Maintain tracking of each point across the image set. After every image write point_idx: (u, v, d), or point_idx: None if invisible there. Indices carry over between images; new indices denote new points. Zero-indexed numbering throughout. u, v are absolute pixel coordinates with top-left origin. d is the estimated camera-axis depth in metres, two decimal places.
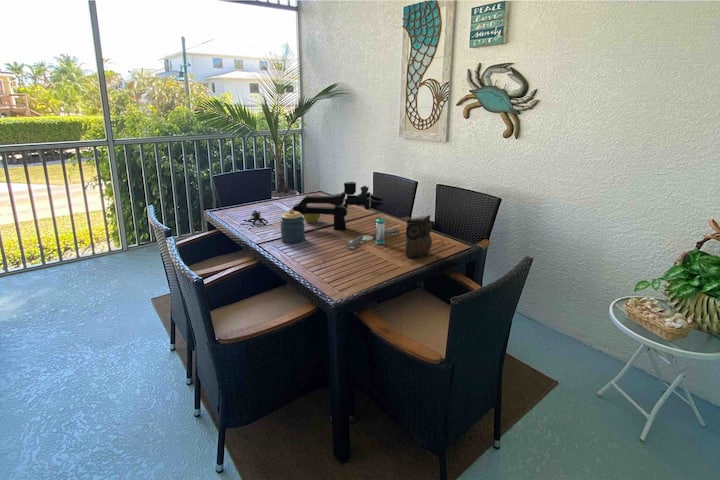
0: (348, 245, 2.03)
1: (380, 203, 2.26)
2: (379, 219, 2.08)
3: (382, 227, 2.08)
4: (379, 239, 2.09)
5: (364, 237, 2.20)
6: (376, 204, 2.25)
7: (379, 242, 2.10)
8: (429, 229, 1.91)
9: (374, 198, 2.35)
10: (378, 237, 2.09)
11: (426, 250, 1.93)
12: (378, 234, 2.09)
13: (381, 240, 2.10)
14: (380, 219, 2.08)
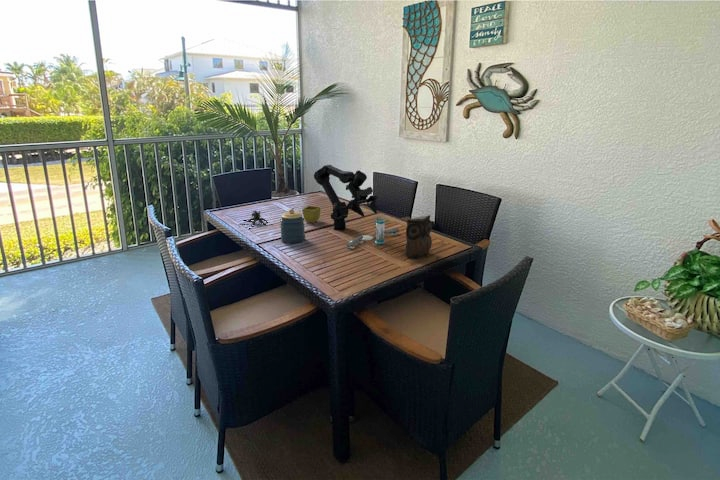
0: (348, 245, 2.03)
1: (361, 214, 2.11)
2: (379, 219, 2.08)
3: (382, 227, 2.08)
4: (379, 239, 2.09)
5: (364, 237, 2.20)
6: (358, 212, 2.11)
7: (379, 242, 2.10)
8: (429, 229, 1.91)
9: (372, 205, 2.18)
10: (378, 237, 2.09)
11: (426, 250, 1.93)
12: (378, 234, 2.09)
13: (381, 240, 2.10)
14: (380, 219, 2.08)
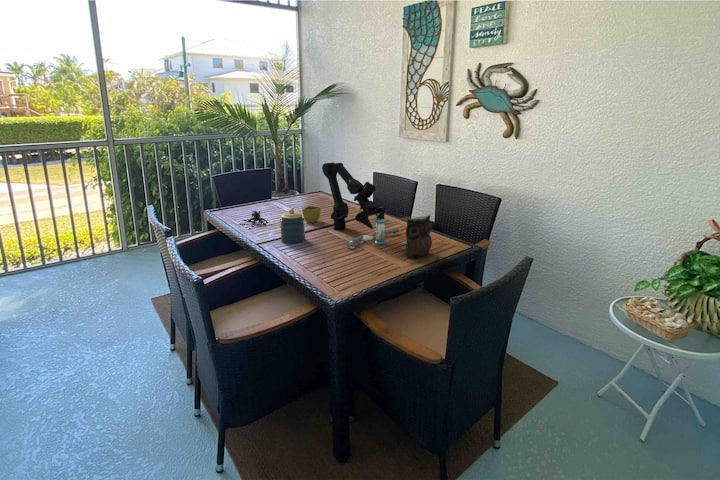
0: (348, 245, 2.03)
1: (370, 226, 2.07)
2: (379, 219, 2.08)
3: (382, 227, 2.08)
4: (379, 239, 2.09)
5: (364, 237, 2.20)
6: (366, 224, 2.08)
7: (379, 242, 2.10)
8: (429, 229, 1.91)
9: (381, 217, 2.14)
10: (378, 237, 2.09)
11: (426, 250, 1.93)
12: (378, 234, 2.09)
13: (381, 240, 2.10)
14: (380, 219, 2.08)
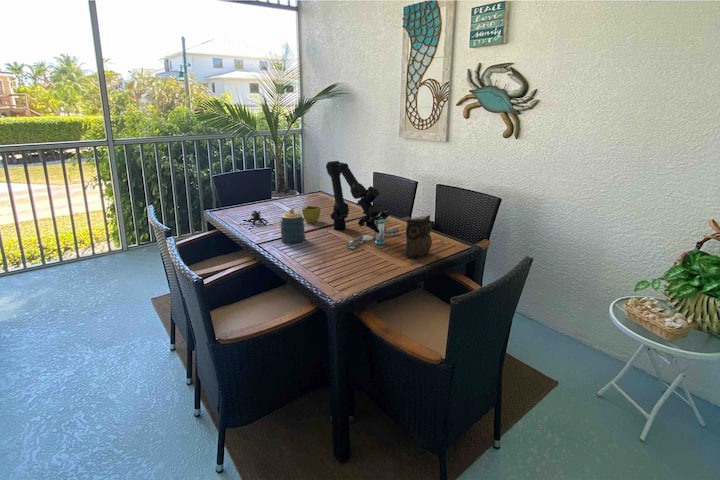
0: (348, 245, 2.03)
1: (376, 231, 2.08)
2: (379, 219, 2.08)
3: (382, 227, 2.08)
4: (379, 239, 2.09)
5: (364, 237, 2.20)
6: (373, 228, 2.08)
7: (379, 242, 2.10)
8: (429, 229, 1.91)
9: None
10: (378, 237, 2.09)
11: (426, 250, 1.93)
12: (378, 234, 2.09)
13: (381, 240, 2.10)
14: (380, 219, 2.08)
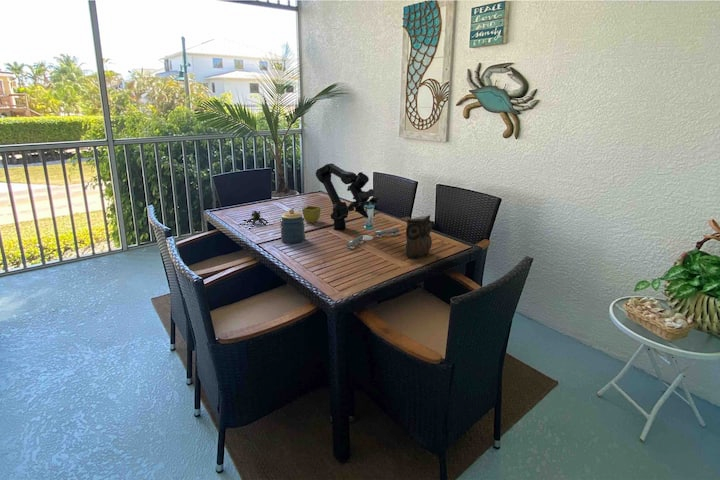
0: (348, 245, 2.03)
1: (365, 216, 2.12)
2: (368, 204, 2.12)
3: (371, 212, 2.11)
4: (368, 224, 2.13)
5: (364, 237, 2.20)
6: (362, 213, 2.12)
7: (368, 227, 2.14)
8: (429, 229, 1.91)
9: None
10: (367, 222, 2.13)
11: (426, 250, 1.93)
12: (367, 219, 2.13)
13: (370, 225, 2.14)
14: (369, 204, 2.12)
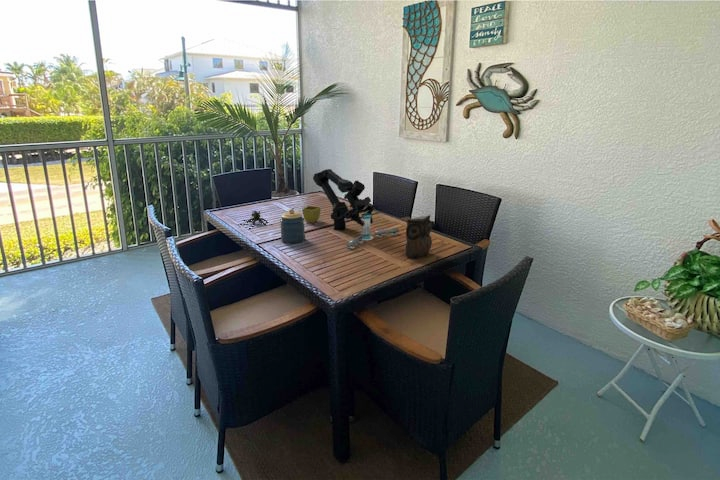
0: (348, 245, 2.03)
1: (361, 224, 2.14)
2: (365, 214, 2.16)
3: (368, 222, 2.15)
4: (365, 233, 2.17)
5: None
6: (357, 221, 2.15)
7: (365, 236, 2.18)
8: (429, 229, 1.91)
9: None
10: (364, 231, 2.17)
11: (426, 250, 1.93)
12: (364, 229, 2.16)
13: (367, 234, 2.17)
14: (366, 214, 2.16)
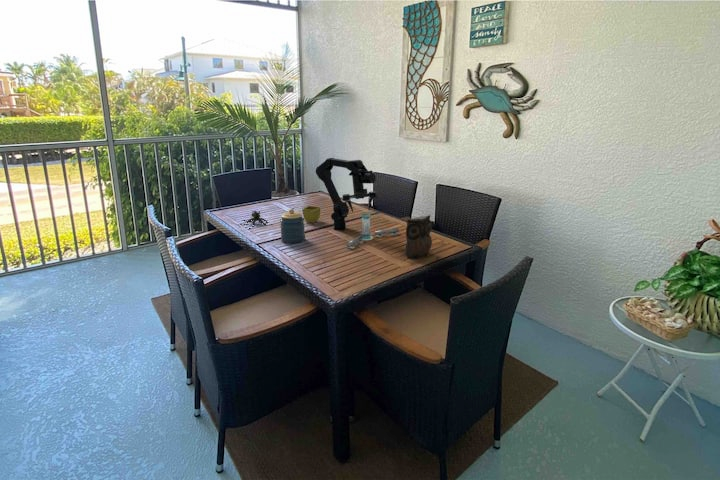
0: (348, 245, 2.03)
1: (351, 209, 2.23)
2: (365, 214, 2.16)
3: (367, 222, 2.15)
4: (365, 233, 2.17)
5: None
6: (349, 205, 2.23)
7: (365, 236, 2.18)
8: (429, 229, 1.91)
9: (368, 202, 2.22)
10: (364, 232, 2.17)
11: (426, 250, 1.93)
12: (364, 229, 2.17)
13: (367, 234, 2.17)
14: (366, 214, 2.16)
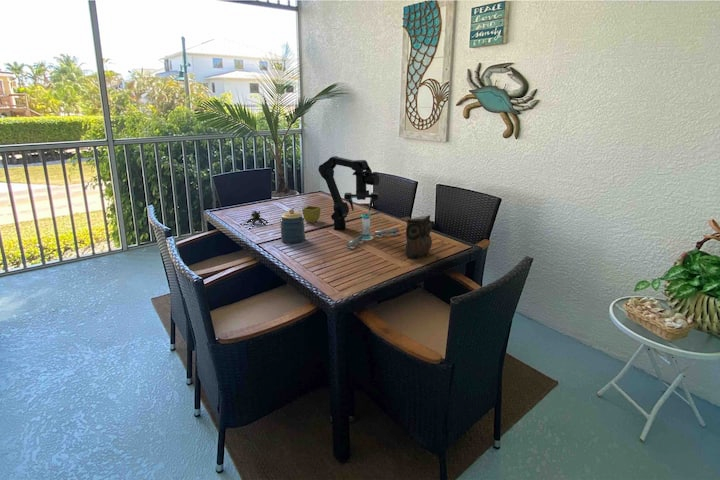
0: (348, 245, 2.03)
1: (352, 208, 2.24)
2: (365, 214, 2.16)
3: (367, 222, 2.15)
4: (365, 233, 2.17)
5: None
6: (350, 204, 2.24)
7: (365, 236, 2.18)
8: (429, 229, 1.91)
9: (370, 202, 2.22)
10: (364, 232, 2.17)
11: (426, 250, 1.93)
12: (364, 229, 2.17)
13: (367, 234, 2.17)
14: (366, 214, 2.16)
